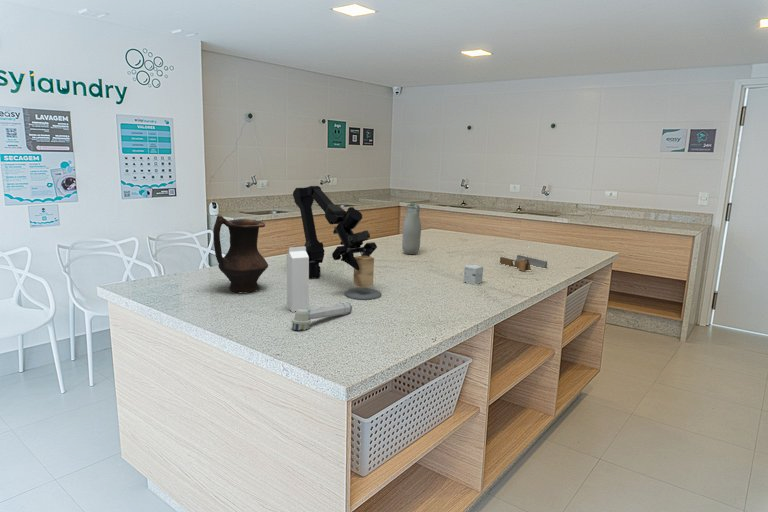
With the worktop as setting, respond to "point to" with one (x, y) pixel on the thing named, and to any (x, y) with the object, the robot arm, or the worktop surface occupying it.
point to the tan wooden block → (364, 271)
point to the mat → (363, 294)
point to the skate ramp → (523, 262)
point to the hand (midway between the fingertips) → (364, 268)
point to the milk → (297, 279)
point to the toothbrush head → (318, 314)
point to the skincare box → (473, 274)
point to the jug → (240, 253)
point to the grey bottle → (411, 229)
